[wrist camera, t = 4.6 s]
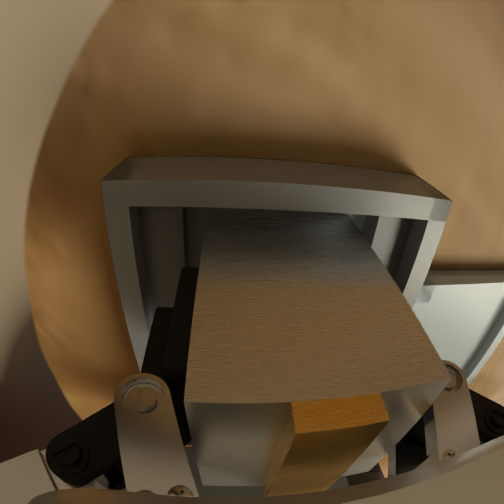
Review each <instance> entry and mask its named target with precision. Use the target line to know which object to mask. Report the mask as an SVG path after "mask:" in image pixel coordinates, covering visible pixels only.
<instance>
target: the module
mask: <svg viewBox="0 0 504 504" xmlns="http://www.w3.org/2000/svg"><path fill="white" fill-rule="evenodd" d="M450 380H451V377H450V375H449V373H448V371H447V369H446V367H445V365H444V364H443V362H442V360H441V358H440V356H439V354H438V353H437V351H436V349H435V347H434V346H433V344H432V342H431V340H430V339H429V337H428V335H427V333H426V332H425V330H424V328H423V327H422V325H421V323H420V321H419V320H418V318H417V317H416V315H415V313H414V312H413V310H412V308H411V307H410V305H409V303H408V302H407V300H406V299H405V297H404V295H403V294H402V292H401V291H400V289H399V288H398V286H397V284H396V283H395V281H394V280H393V278H392V277H391V275H390V274H389V272H388V271H387V269H386V268H385V266H384V265H383V263H382V262H381V260H380V259H379V257H378V256H377V254H376V253H375V251H374V250H373V249H372V247H371V246H370V244H369V243H368V241H367V240H366V239H365V237H364V236H363V234H362V233H361V231H360V230H359V229H358V227H357V226H356V225H355V223H354V222H353V220H352V219H351V218H350V216H349V215H348V214H337V213H320V212H302V211H282V210H259V209H230V208H208V213H207V219H206V226H205V232H204V239H203V245H202V252H201V259H200V266H199V273H198V280H197V288H196V295H195V303H194V311H193V319H192V328H191V336H190V345H189V354H188V363H187V373H186V383H185V394H184V405H185V410H186V415H187V420H188V425H189V430H190V435H191V439H192V444H193V448H194V452H195V457H196V461H197V465H198V469H199V473H200V477H201V481H202V485H204V486H259V485H262V487H263V497H270V496H283V495H294V494H303V493H311V492H318V491H325V490H328V489H329V488H330V487H331V486H332V485H333V484H334V483H335V482H336V481H337V480H338V479H339V478H340V477H343V476H348V475H354V474H359V473H364V472H368V471H370V470H371V469H372V468H373V467H374V466H375V465H376V464H377V463H378V462H379V461H380V460H381V459H382V458H383V457H384V456H385V455H386V454H387V453H388V452H389V451H390V450H391V449H392V448H393V447H394V446H395V445H396V444H397V443H398V442H399V441H400V440H401V439H402V438H403V437H404V436H405V435H406V433H407V432H408V431H409V430H410V429H411V428H412V427H413V426H414V425H415V423H416V422H417V421H418V420H419V419H420V418H421V417H422V415H423V414H424V413H425V412H426V411H427V409H428V408H429V407H430V406H431V405H432V403H433V402H434V401H435V400H436V398H437V397H438V396H439V395H440V393H441V392H442V391H443V389H444V388H445V387H446V385H447V384H448V383H449V381H450Z"/></svg>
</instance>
